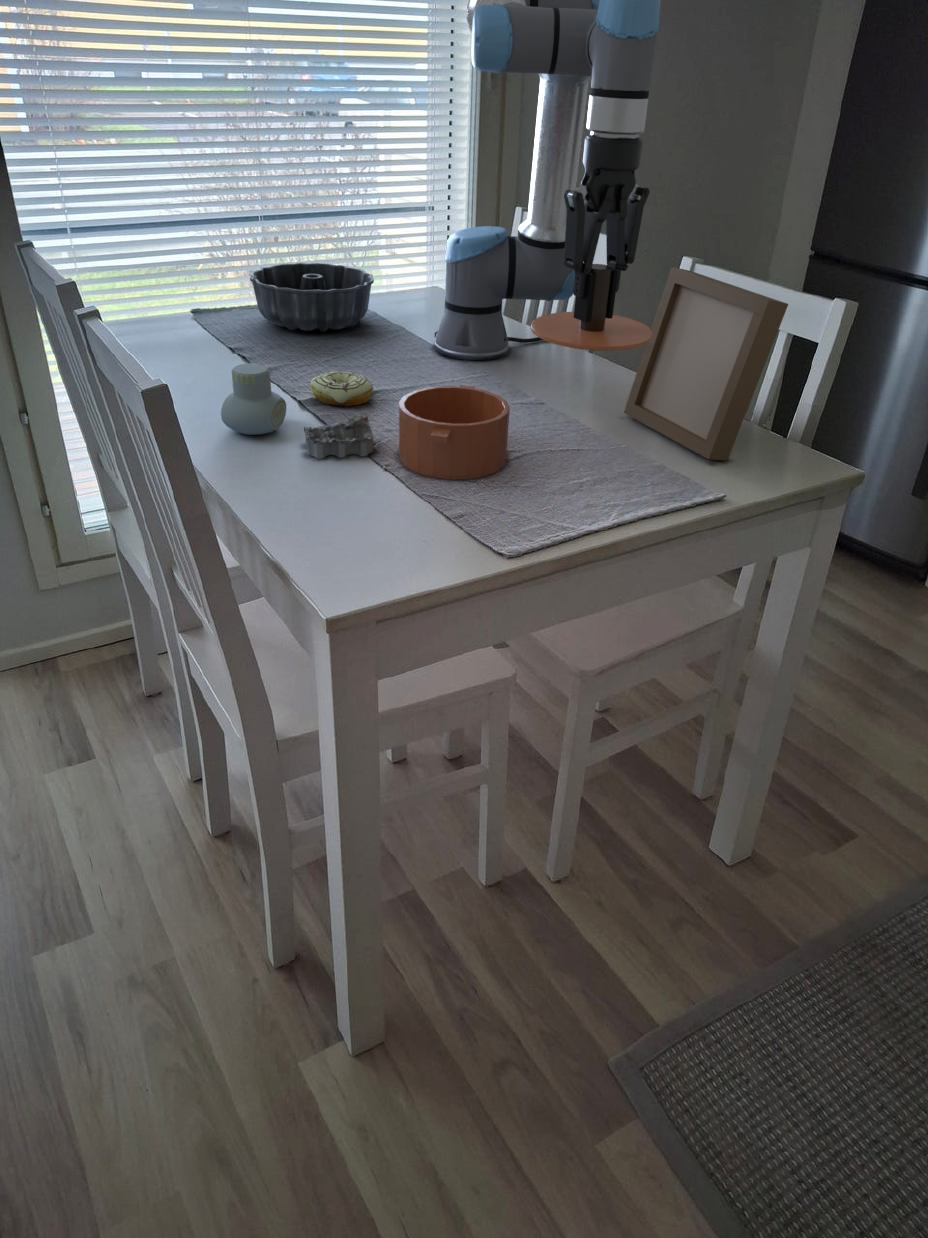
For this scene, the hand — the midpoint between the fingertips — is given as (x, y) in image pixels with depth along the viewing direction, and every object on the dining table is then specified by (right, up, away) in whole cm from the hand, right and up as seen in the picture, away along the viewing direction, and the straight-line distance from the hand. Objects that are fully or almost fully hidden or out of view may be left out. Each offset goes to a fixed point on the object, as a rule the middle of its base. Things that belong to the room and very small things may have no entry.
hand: (593, 317), depth 131 cm
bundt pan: (-52, +22, +70) cm, 89 cm away
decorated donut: (-40, -4, +31) cm, 51 cm away
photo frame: (+21, -12, +24) cm, 34 cm away
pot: (-20, -18, +11) cm, 29 cm away
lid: (0, -2, +1) cm, 2 cm away
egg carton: (-38, -17, +12) cm, 43 cm away
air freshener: (-53, -13, +18) cm, 57 cm away
